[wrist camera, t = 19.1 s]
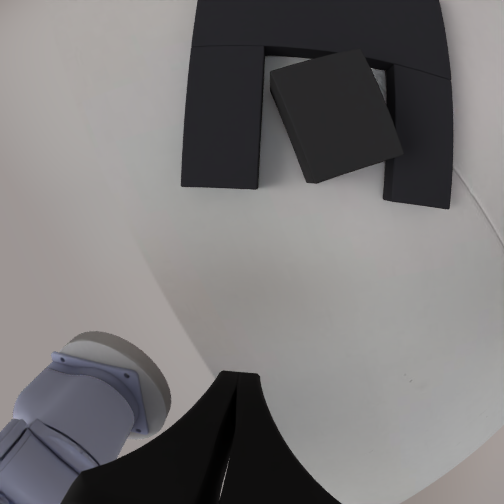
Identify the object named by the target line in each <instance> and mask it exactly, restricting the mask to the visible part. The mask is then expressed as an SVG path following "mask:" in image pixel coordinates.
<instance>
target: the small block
mask: <svg viewBox="0 0 504 504" xmlns="http://www.w3.org/2000/svg"><path fill="white" fill-rule="evenodd" d="M270 92H271V94H272V96H273V99H274V101H275V103H276V106H277V108H278V111H279V113H280V116H281V118H282V120H283V123H284V125H285V128H286V130H287V133H288V135H289V138H290V140H291V143H292V146H293V148H294V151H295V153H296V156H297V159H298V161H299V164H300V167H301V169H302V172H303V175H304V177H305V180H306V182H307V183H315V184H317V183H320V182H322V181H325V180H328V179H331V178H334V177H337V176H340V175H343V174H346V173H349V172H352V171H355V170H358V169H361V168H364V167H367V166H370V165H373V164H377V163H380V162H383V161H386V160H389V159H392V158H395V157H399V156H402V155H404V152H403V149H402V146H401V143H400V140H399V137H398V134H397V131H396V129H395V126H394V123H393V121H392V118H391V115H390V113H389V110H388V108H387V105H386V103H385V100H384V98H383V95H382V93H381V91H380V88H379V86H378V84H377V82H376V79H375V77H374V75H373V73H372V71H371V68H370V66H369V64H368V62H367V60H366V58H365V56H364V54H363V52H362V50H361V48H359V49H354V50H349V51H344V52H340V53H335V54H331V55H327V56H323V57H319V58H315V59H311V60H307V61H304V62H300V63H296V64H293V65H290V66H286V67H283V68H280V69H276V70H273V71H271V72H270Z"/></svg>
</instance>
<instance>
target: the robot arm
mask: <svg viewBox="0 0 504 504" xmlns="http://www.w3.org/2000/svg"><path fill="white" fill-rule="evenodd" d="M51 357H52V361H53V362H52V363H50V365H48V366H47V367H46V368H45V369H44V370H43V371H42V372H41V373H40V374H39V375H38V376H37V377H36V378H35V379H34V380H33V381H32V382H31V383H30V384H29V385H28V386H27V387H26V388H25V389H24V390H23V391H22V392H21V393H20V395H19V396H18V398H17V400H16V403H15V406H14V410H13V419H12V420H11V421H10V422H9V423H8V424H7V425H6V426H5V427H4V428H3V430H2V431H1V432H0V504H341V503H340V502H339V501H337V500H336V499H335V498H334V497H333V496H332V495H330V494H329V493H328V492H327V491H326V490H325V489H324V488H323V487H322V486H321V485H320V484H319V483H318V482H317V481H316V480H315V479H314V478H313V477H312V476H311V475H310V474H309V473H308V471H307V470H306V469H305V468H304V467H303V466H302V465H301V463H300V462H299V461H298V460H297V458H296V457H295V456H294V454H293V453H292V451H291V450H290V448H289V447H288V445H287V444H286V442H285V441H284V439H283V437H282V436H281V434H280V432H279V430H278V428H277V426H276V424H275V422H274V420H273V418H272V416H271V414H270V411H269V409H268V406H267V404H266V401H265V398H264V395H263V391H262V387H261V382H260V376H259V375H258V374H257V373H245V372H233V371H221V372H220V373H219V375H218V376H217V378H216V379H215V381H214V382H213V383H212V385H211V386H210V387H209V389H208V390H207V391H206V393H204V395H203V396H202V397H201V398H200V399H199V400H198V401H197V403H196V404H195V405H194V406H193V407H192V408H191V409H190V410H189V411H188V412H187V413H186V414H185V415H184V416H183V417H182V418H180V419H179V420H178V421H177V422H176V423H175V424H174V425H172V426H171V427H170V428H169V429H167V430H166V431H165V432H163V433H162V434H161V435H159V436H158V437H156V438H155V439H153V440H152V441H150V442H149V443H147V444H145V445H144V446H142V447H140V448H138V449H137V450H135V451H133V452H131V453H129V454H127V455H125V456H122V457H121V458H118V459H117V457H118V455H119V453H120V451H121V449H122V447H123V445H124V443H125V441H126V439H127V437H128V435H129V433H130V431H131V432H135V433H139V434H144V435H147V434H148V433H149V427H148V423H147V418H146V413H145V408H144V403H143V398H142V392H141V386H140V381H139V375H138V373H137V372H136V371H134V370H131V369H126V368H121V367H116V366H111V365H107V364H102V363H98V362H94V361H90V360H86V359H82V358H78V357H74V356H70V355H67V354H63V353H59V352H56V351H54V352H52V353H51ZM126 373H127V374H128V375H127V374H126ZM228 461H229V463H228ZM227 465H228V468H227ZM226 469H227V472H226ZM225 472H226V476H225ZM224 476H225V480H224V485H223V489H222V493H221V488H222V483H223V479H224ZM220 493H221V497H220ZM219 499H220V500H219Z"/></svg>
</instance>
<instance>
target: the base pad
mask: <svg viewBox="0 0 504 504" xmlns="http://www.w3.org/2000/svg"><path fill="white" fill-rule="evenodd" d="M191 47H192V48H191V55H190V64H189V73H188V83H187V94H186V106H185V119H184V134H183V151H182V171H181V186H182V187H210V188H235V189H255V190H256V189H257V188H258V178H259V159H260V141H261V122H262V103H263V84H264V65H265V55H276V56H291V57H302V58H312V59H315V58H319V57H323V56H327V55H331V54H335V53H340V52H344V51H349V50H354V49H359V48H361V50H362V52H363V54H364V56H365V58H366V60H367V62H368V64H369V66H370V67H371V68H376V69H381V70H386V80H387V108H388V110H389V113H390V115H391V118H392V121H393V123H394V126H395V129H396V131H397V134H398V137H399V140H400V143H401V146H402V149H403V152H404V155H402V156H399V157H395V158H392V159H389V160H386V165H385V181H384V194H383V199H384V200H387V201H392V202H399V203H407V204H414V205H422V206H429V207H435V208H442V209H449V208H450V198H451V186H452V170H453V101H452V85H451V81H450V80H451V71H450V62H449V54H448V46H447V40H446V33H445V27H444V22H443V17H442V12H441V7H440V2H439V0H198V2H197V9H196V15H195V22H194V30H193V37H192V46H191Z"/></svg>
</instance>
